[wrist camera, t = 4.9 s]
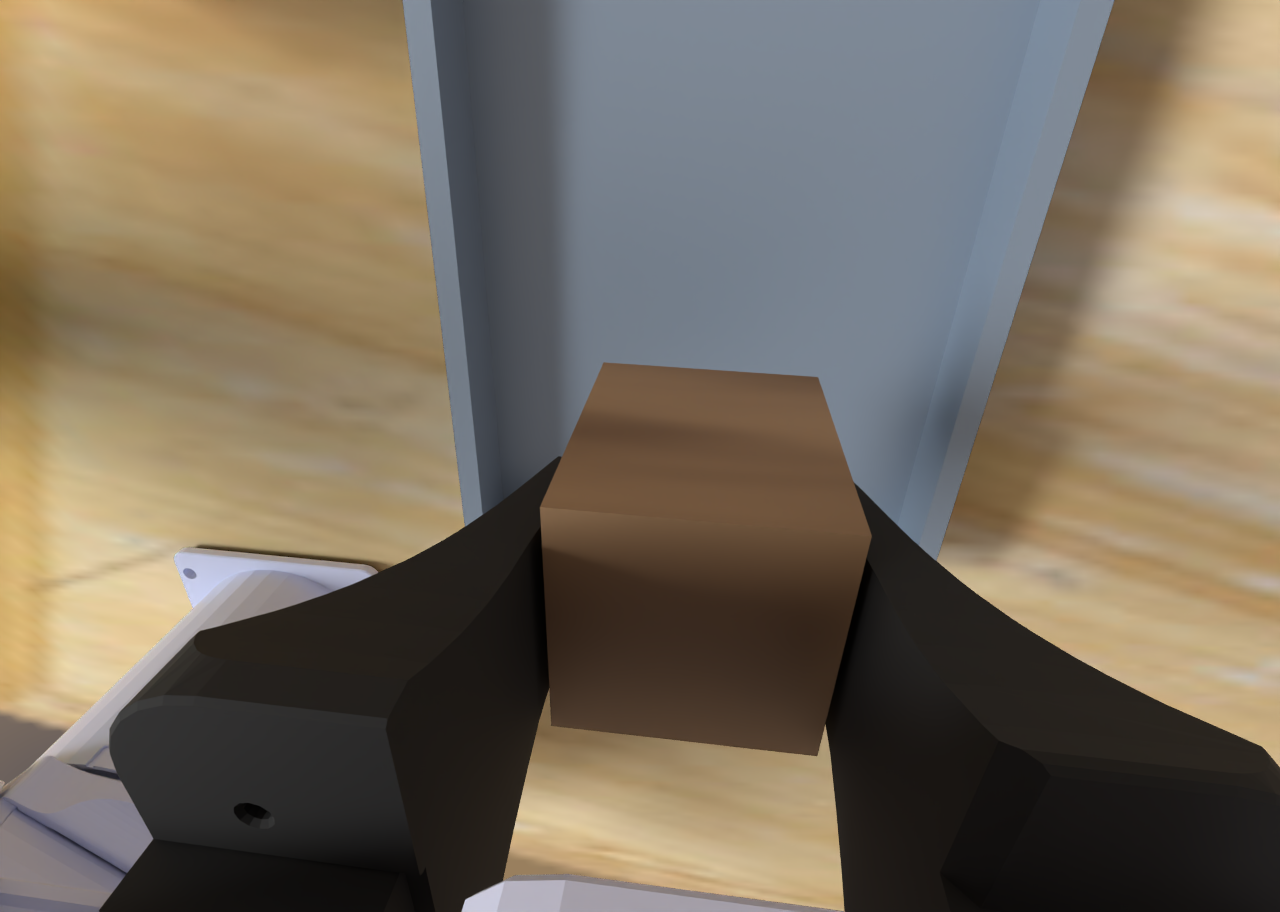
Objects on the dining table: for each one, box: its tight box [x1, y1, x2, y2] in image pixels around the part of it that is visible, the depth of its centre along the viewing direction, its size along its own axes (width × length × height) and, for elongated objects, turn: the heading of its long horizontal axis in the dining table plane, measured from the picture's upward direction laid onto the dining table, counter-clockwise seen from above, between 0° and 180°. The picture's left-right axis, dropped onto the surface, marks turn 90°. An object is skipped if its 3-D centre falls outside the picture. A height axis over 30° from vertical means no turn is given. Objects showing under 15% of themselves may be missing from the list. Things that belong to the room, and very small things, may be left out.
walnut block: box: [540, 362, 872, 756], centre depth 11 cm, size 4×4×5 cm
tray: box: [403, 0, 1114, 560], centre depth 16 cm, size 20×14×2 cm
